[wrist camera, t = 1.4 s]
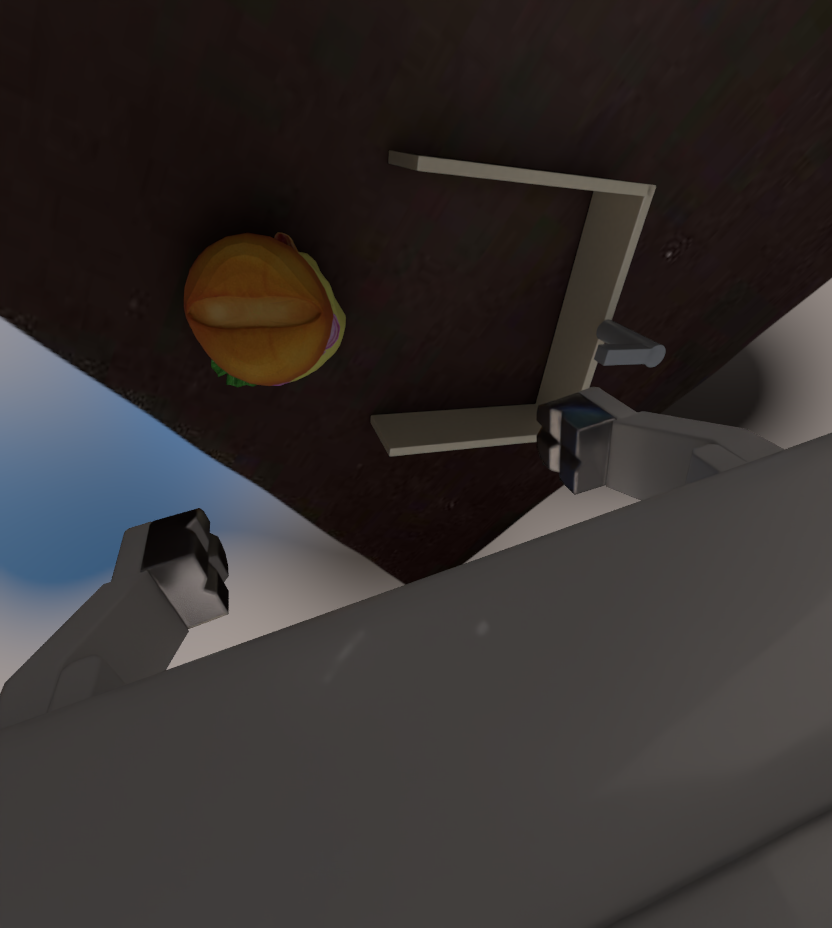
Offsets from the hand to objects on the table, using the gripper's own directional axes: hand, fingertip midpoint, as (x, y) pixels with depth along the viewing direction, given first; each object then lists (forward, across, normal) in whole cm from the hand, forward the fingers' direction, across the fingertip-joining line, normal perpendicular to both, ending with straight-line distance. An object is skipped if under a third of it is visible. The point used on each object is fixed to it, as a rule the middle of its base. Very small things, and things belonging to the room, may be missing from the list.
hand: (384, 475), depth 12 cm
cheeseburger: (+30, +2, +3) cm, 30 cm away
